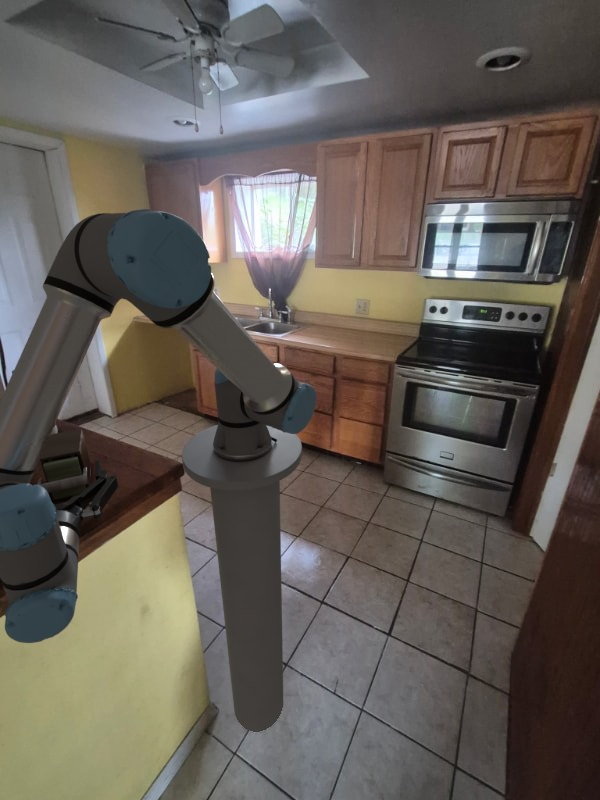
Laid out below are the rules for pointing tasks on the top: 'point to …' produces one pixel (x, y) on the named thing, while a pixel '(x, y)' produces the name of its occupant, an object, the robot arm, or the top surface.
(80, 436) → the cabinet
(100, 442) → the top surface
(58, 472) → the drawer
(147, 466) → the top surface
